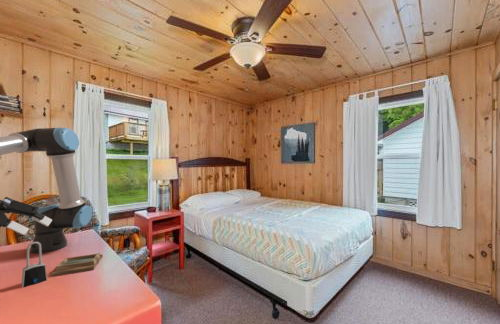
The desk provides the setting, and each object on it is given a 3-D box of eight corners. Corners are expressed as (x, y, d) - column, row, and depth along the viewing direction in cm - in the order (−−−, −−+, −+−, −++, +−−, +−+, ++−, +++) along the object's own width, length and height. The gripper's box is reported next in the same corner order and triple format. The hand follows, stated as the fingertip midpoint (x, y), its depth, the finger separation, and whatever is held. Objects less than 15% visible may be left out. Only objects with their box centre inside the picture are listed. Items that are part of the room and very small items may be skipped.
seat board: (66, 262, 104) (66, 256, 104) (102, 256, 109) (102, 251, 109) (51, 276, 90) (51, 269, 90) (93, 269, 95) (93, 263, 95)
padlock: (45, 277, 89) (44, 238, 90) (47, 280, 87) (46, 240, 87) (21, 284, 84) (20, 243, 84) (22, 288, 81) (22, 245, 82)
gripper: (-57, 216, 78) (10, 243, 91) (-11, 195, 71) (54, 228, 85) (-37, 198, 83) (23, 227, 96) (7, 177, 77) (65, 211, 90)
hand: (38, 227), depth 91 cm, fingers open, 13 cm apart
